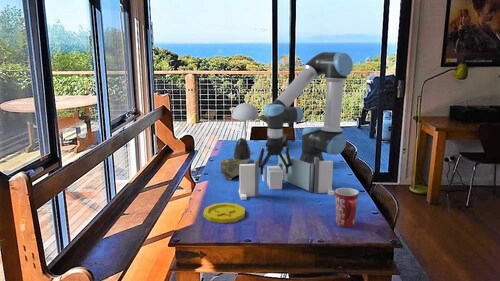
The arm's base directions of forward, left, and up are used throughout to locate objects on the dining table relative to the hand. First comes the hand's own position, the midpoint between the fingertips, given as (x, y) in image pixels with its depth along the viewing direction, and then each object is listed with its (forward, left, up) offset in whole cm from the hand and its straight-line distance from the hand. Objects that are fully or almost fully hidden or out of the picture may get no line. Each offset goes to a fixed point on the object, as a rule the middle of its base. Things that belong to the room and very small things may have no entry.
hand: (273, 180), depth 206 cm
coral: (-16, -83, -3) cm, 85 cm away
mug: (-18, +50, -3) cm, 53 cm away
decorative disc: (+28, +32, -3) cm, 42 cm away
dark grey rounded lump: (+11, -42, -3) cm, 43 cm away
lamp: (+6, -64, -3) cm, 64 cm away
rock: (+18, -18, -3) cm, 26 cm away
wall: (-3, +12, -3) cm, 13 cm away
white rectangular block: (0, 0, -3) cm, 3 cm away
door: (-10, +1, -3) cm, 10 cm away
